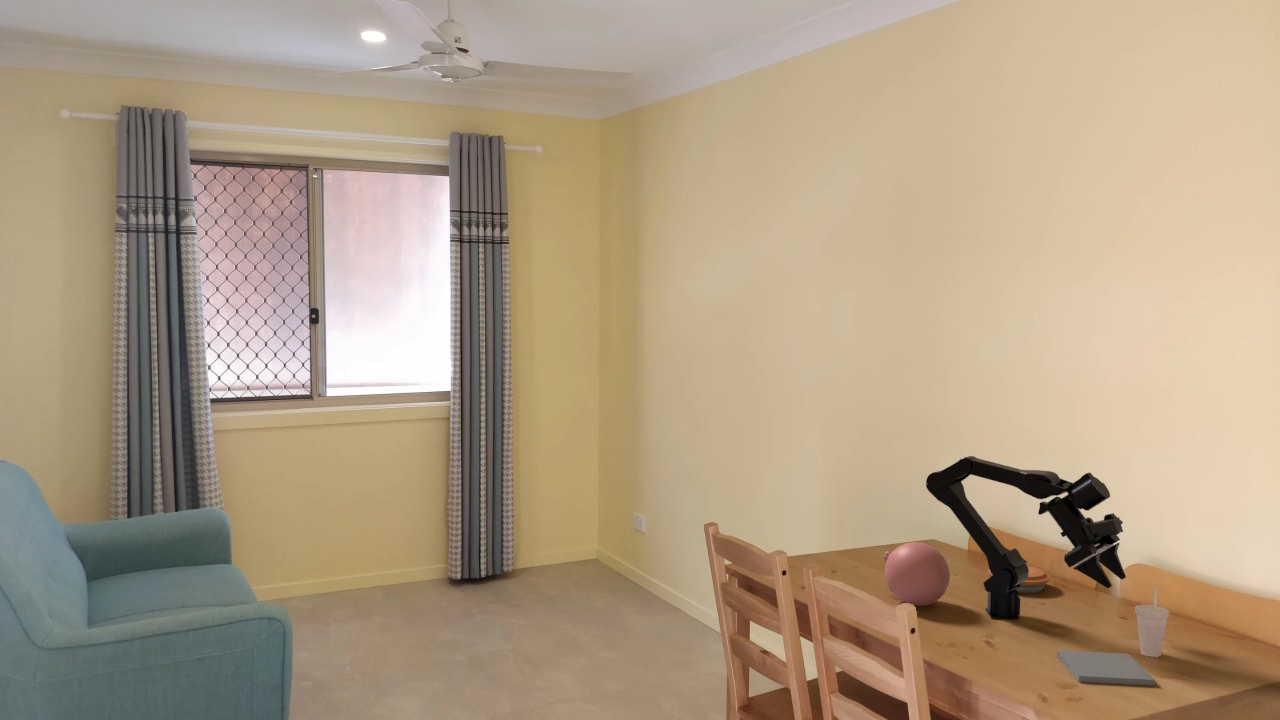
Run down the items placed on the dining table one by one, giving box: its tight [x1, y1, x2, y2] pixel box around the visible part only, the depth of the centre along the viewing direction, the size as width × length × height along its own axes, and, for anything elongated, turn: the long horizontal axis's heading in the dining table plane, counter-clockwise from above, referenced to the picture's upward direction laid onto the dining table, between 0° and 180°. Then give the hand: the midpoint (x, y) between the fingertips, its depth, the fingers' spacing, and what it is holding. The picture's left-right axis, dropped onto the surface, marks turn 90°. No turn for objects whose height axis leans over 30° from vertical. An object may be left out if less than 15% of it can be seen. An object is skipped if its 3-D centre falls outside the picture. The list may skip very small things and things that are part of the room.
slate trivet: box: [1056, 649, 1156, 687], centre depth 190 cm, size 14×14×1 cm
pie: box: [987, 565, 1051, 594], centre depth 247 cm, size 16×16×5 cm
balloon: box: [883, 541, 951, 607], centre depth 234 cm, size 15×20×15 cm
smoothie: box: [1134, 588, 1170, 658], centre depth 198 cm, size 6×6×14 cm
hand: (1117, 582), depth 205 cm, fingers open, 9 cm apart
